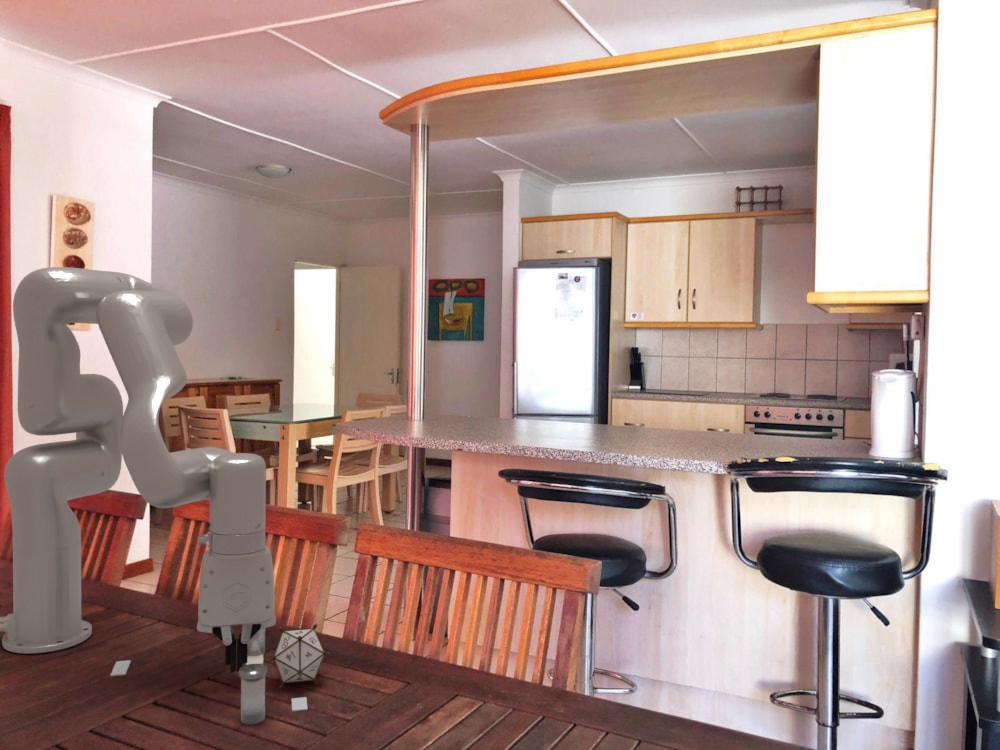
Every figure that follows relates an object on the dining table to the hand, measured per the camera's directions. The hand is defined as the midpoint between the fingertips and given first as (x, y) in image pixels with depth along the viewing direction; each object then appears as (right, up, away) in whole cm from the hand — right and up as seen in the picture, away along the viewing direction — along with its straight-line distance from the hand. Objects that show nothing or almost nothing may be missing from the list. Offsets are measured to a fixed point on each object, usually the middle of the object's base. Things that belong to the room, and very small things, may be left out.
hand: (236, 668), depth 115 cm
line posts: (+2, -2, +1) cm, 3 cm away
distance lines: (-4, -2, 0) cm, 5 cm away
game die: (+8, -3, +1) cm, 9 cm away
